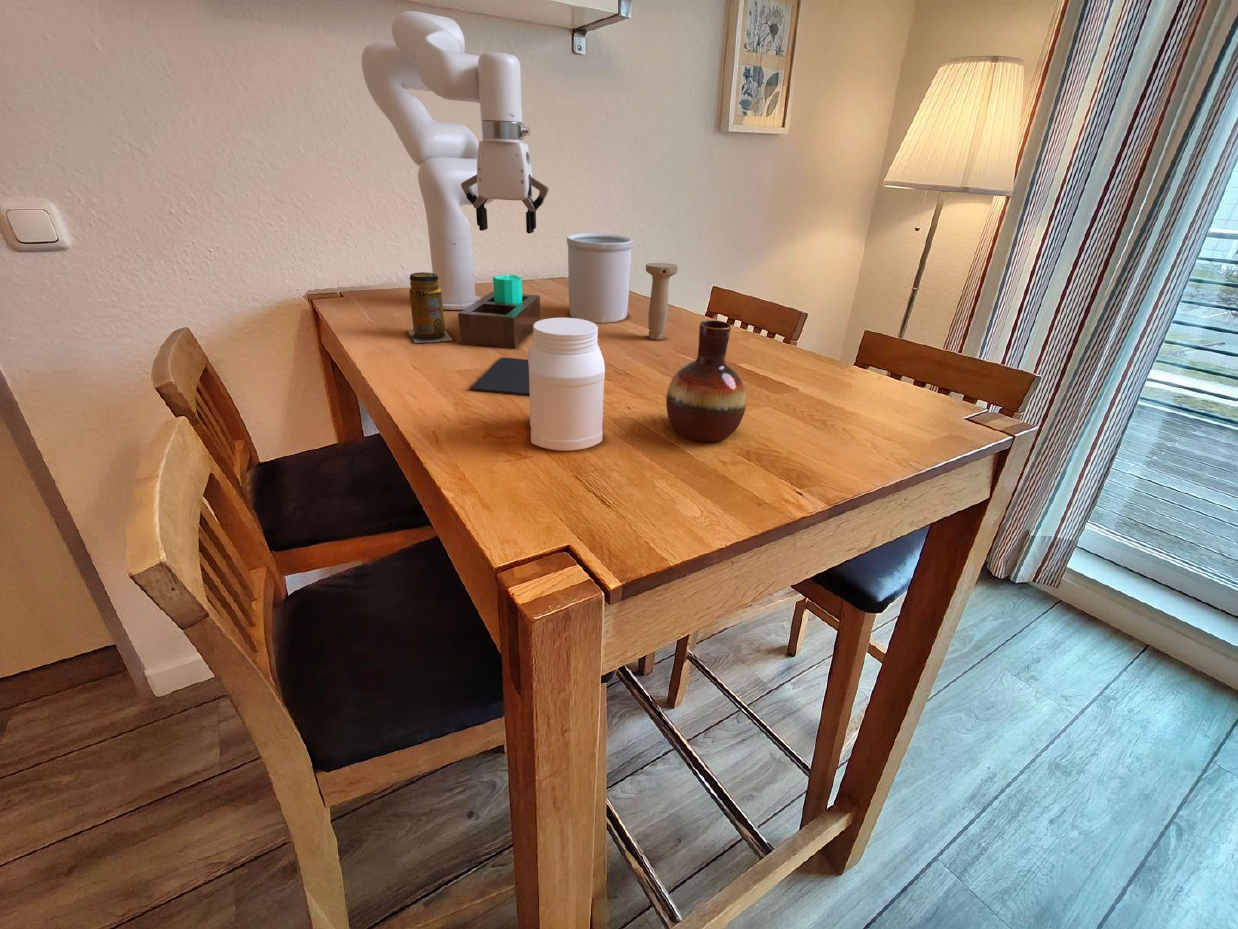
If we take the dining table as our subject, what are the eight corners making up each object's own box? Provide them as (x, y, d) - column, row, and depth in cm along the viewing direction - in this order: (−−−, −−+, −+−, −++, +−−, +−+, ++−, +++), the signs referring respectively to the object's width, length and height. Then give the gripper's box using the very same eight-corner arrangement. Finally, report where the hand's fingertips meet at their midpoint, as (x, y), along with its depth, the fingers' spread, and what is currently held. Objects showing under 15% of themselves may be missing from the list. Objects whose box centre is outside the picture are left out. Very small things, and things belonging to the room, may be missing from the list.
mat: (470, 390, 94) (470, 387, 93) (501, 359, 108) (501, 357, 107) (581, 400, 92) (581, 398, 92) (597, 367, 106) (597, 365, 106)
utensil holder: (617, 327, 131) (621, 244, 122) (556, 318, 135) (556, 237, 126) (637, 312, 143) (641, 236, 135) (580, 305, 147) (581, 231, 139)
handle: (673, 341, 123) (680, 267, 116) (643, 341, 122) (648, 266, 115) (668, 335, 127) (674, 263, 120) (639, 335, 126) (643, 262, 119)
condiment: (444, 329, 123) (438, 270, 117) (452, 340, 116) (447, 278, 111) (408, 332, 120) (400, 271, 114) (414, 344, 113) (406, 280, 108)
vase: (651, 419, 87) (659, 315, 79) (716, 411, 90) (730, 311, 83) (684, 452, 78) (697, 338, 70) (756, 442, 81) (775, 333, 74)
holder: (460, 343, 115) (457, 313, 112) (492, 318, 132) (491, 291, 129) (514, 348, 114) (513, 317, 111) (540, 322, 131) (539, 295, 128)
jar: (605, 450, 77) (609, 338, 70) (531, 452, 76) (528, 338, 69) (594, 415, 87) (597, 314, 80) (529, 416, 86) (526, 314, 79)
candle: (500, 331, 123) (497, 272, 118) (491, 324, 128) (488, 267, 122) (527, 329, 126) (525, 271, 120) (518, 322, 131) (516, 266, 125)
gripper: (552, 136, 112) (553, 231, 120) (464, 132, 114) (471, 226, 122) (542, 134, 105) (544, 236, 113) (450, 130, 107) (458, 230, 115)
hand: (506, 231), depth 117 cm, fingers open, 9 cm apart
